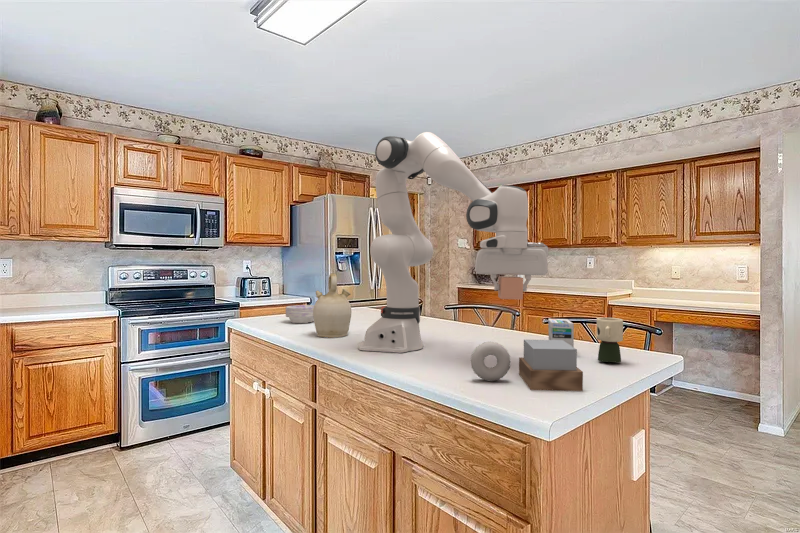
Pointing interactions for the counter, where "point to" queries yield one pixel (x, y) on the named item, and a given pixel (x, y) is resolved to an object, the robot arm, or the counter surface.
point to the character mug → (609, 339)
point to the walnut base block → (550, 378)
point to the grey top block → (550, 355)
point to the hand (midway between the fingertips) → (510, 290)
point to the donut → (492, 372)
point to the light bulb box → (561, 330)
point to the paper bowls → (300, 313)
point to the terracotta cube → (510, 288)
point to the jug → (332, 311)
